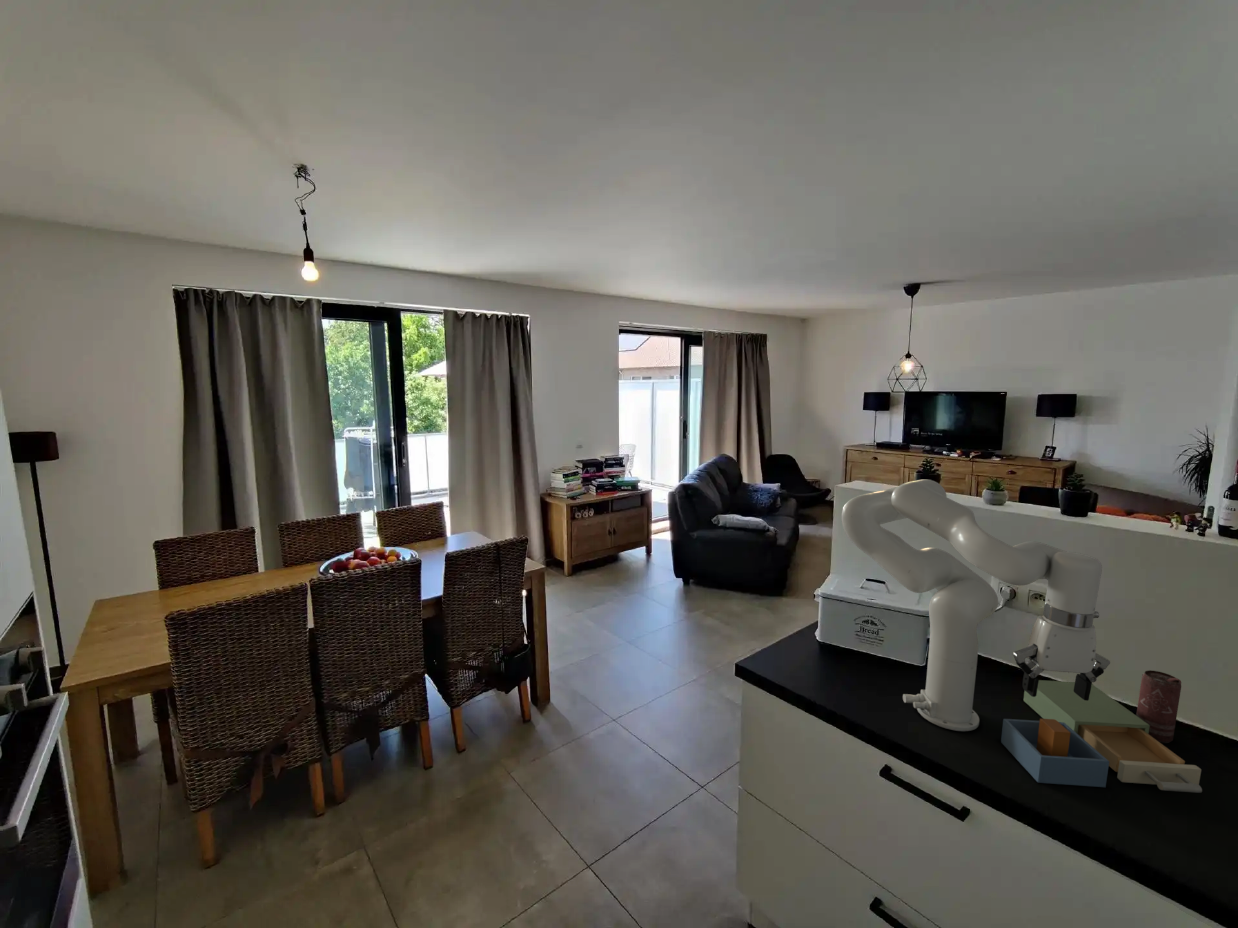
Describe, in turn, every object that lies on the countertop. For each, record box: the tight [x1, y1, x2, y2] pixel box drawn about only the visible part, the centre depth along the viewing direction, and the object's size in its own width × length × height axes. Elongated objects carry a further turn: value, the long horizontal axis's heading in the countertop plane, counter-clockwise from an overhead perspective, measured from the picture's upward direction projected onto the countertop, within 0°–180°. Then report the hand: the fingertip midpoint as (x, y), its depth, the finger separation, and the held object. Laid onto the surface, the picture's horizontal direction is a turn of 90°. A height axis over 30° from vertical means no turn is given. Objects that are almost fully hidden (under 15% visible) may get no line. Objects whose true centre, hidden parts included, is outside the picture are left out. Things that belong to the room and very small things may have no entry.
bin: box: [1000, 718, 1110, 788], centre depth 110 cm, size 12×12×6 cm
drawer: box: [1078, 725, 1203, 794], centre depth 109 cm, size 20×13×4 cm
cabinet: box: [1023, 679, 1150, 734], centre depth 123 cm, size 17×15×6 cm
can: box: [1135, 669, 1182, 744], centre depth 118 cm, size 6×6×14 cm
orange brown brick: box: [1036, 718, 1070, 757], centre depth 110 cm, size 3×4×8 cm
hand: (1054, 694), depth 109 cm, fingers open, 9 cm apart
